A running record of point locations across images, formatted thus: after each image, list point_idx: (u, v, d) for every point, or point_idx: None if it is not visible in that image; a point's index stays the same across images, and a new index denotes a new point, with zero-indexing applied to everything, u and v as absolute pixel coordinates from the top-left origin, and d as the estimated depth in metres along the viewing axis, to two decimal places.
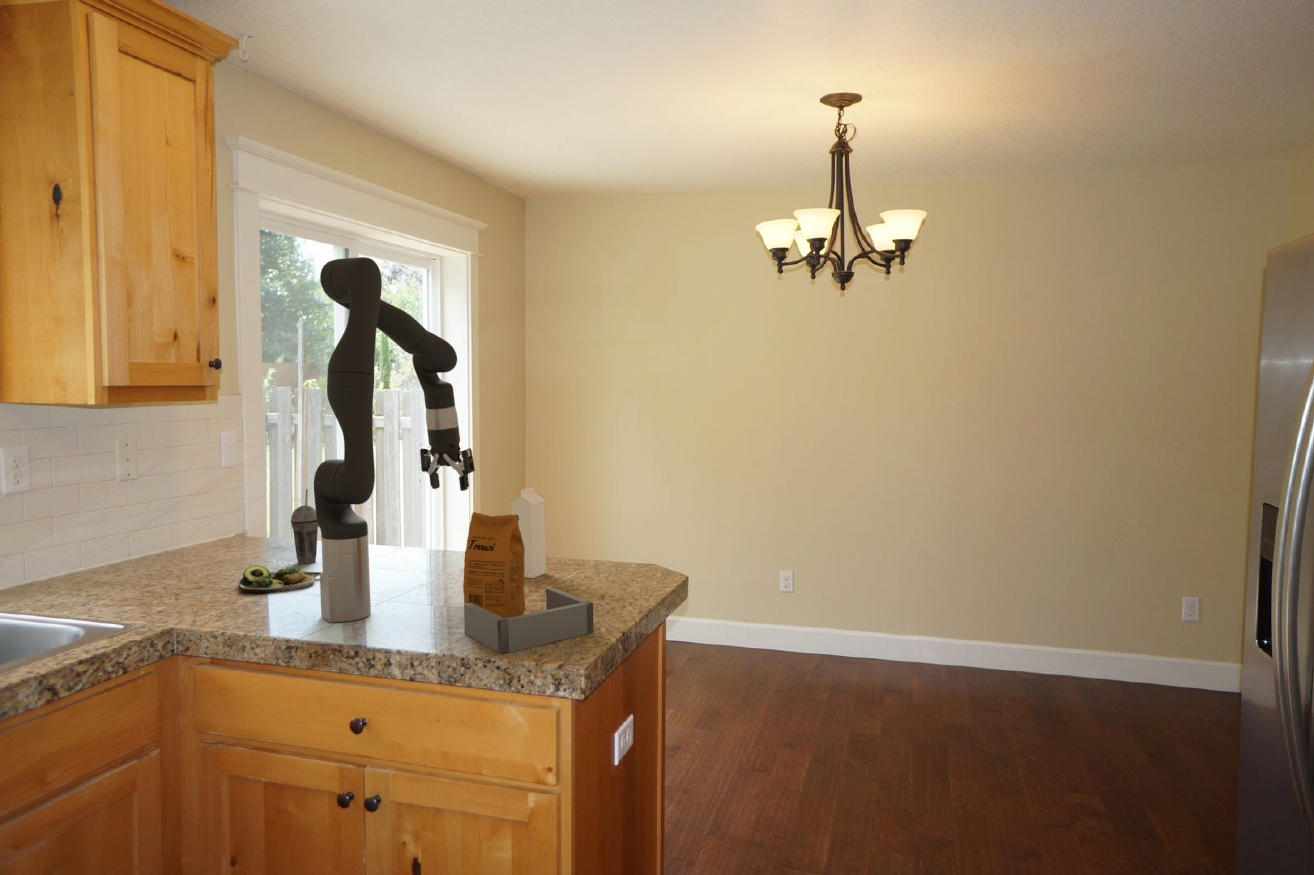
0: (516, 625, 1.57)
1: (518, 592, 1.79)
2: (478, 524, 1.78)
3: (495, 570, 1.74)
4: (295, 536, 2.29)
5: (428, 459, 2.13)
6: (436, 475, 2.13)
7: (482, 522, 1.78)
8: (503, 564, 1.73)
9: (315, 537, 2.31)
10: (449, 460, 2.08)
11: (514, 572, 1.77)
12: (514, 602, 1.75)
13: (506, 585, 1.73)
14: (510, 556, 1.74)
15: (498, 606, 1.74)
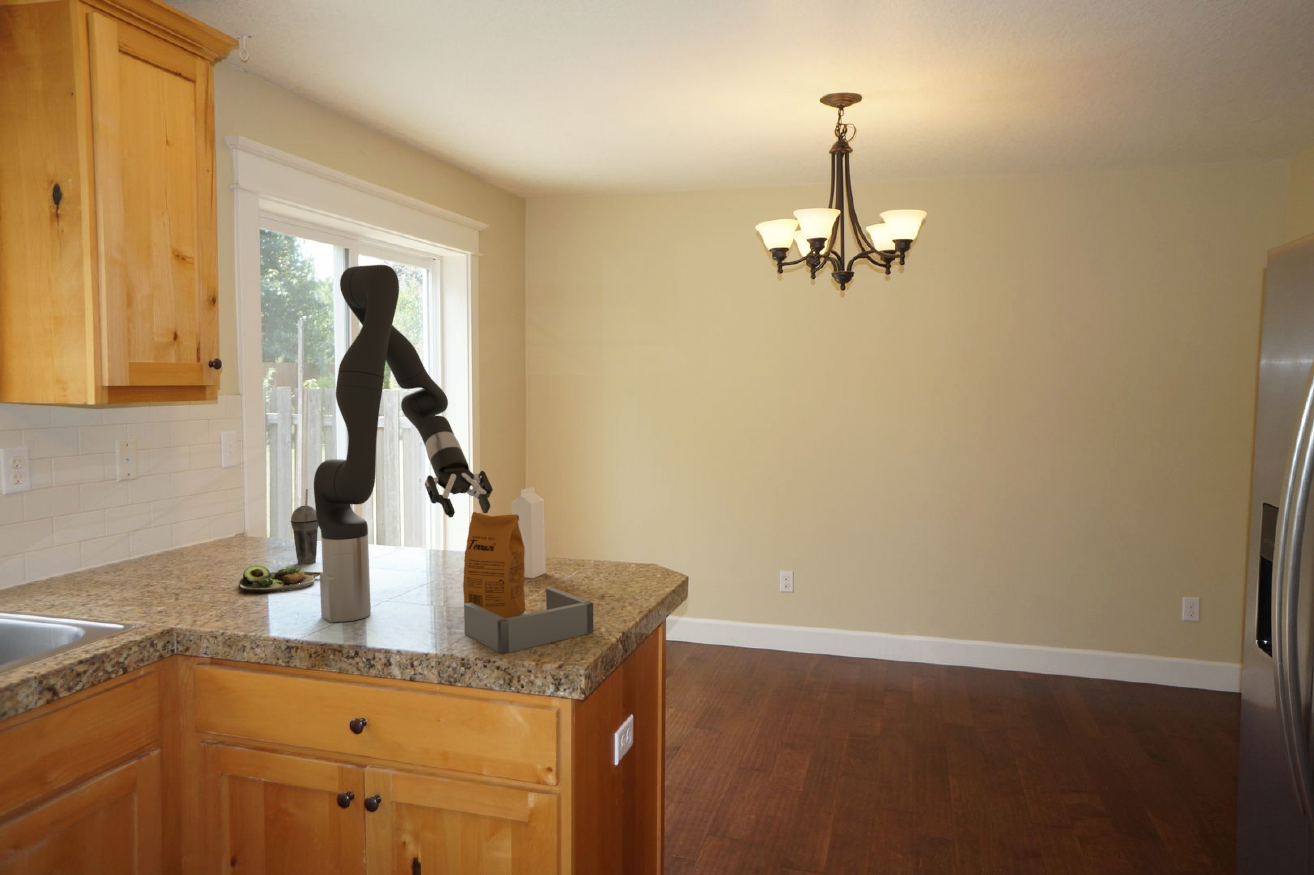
0: (516, 625, 1.57)
1: (518, 592, 1.79)
2: (478, 524, 1.78)
3: (495, 570, 1.74)
4: (295, 536, 2.29)
5: None
6: None
7: (482, 522, 1.78)
8: (503, 564, 1.73)
9: (315, 537, 2.31)
10: (469, 479, 1.90)
11: (514, 572, 1.77)
12: (514, 602, 1.75)
13: (506, 585, 1.73)
14: (510, 556, 1.74)
15: (498, 606, 1.74)
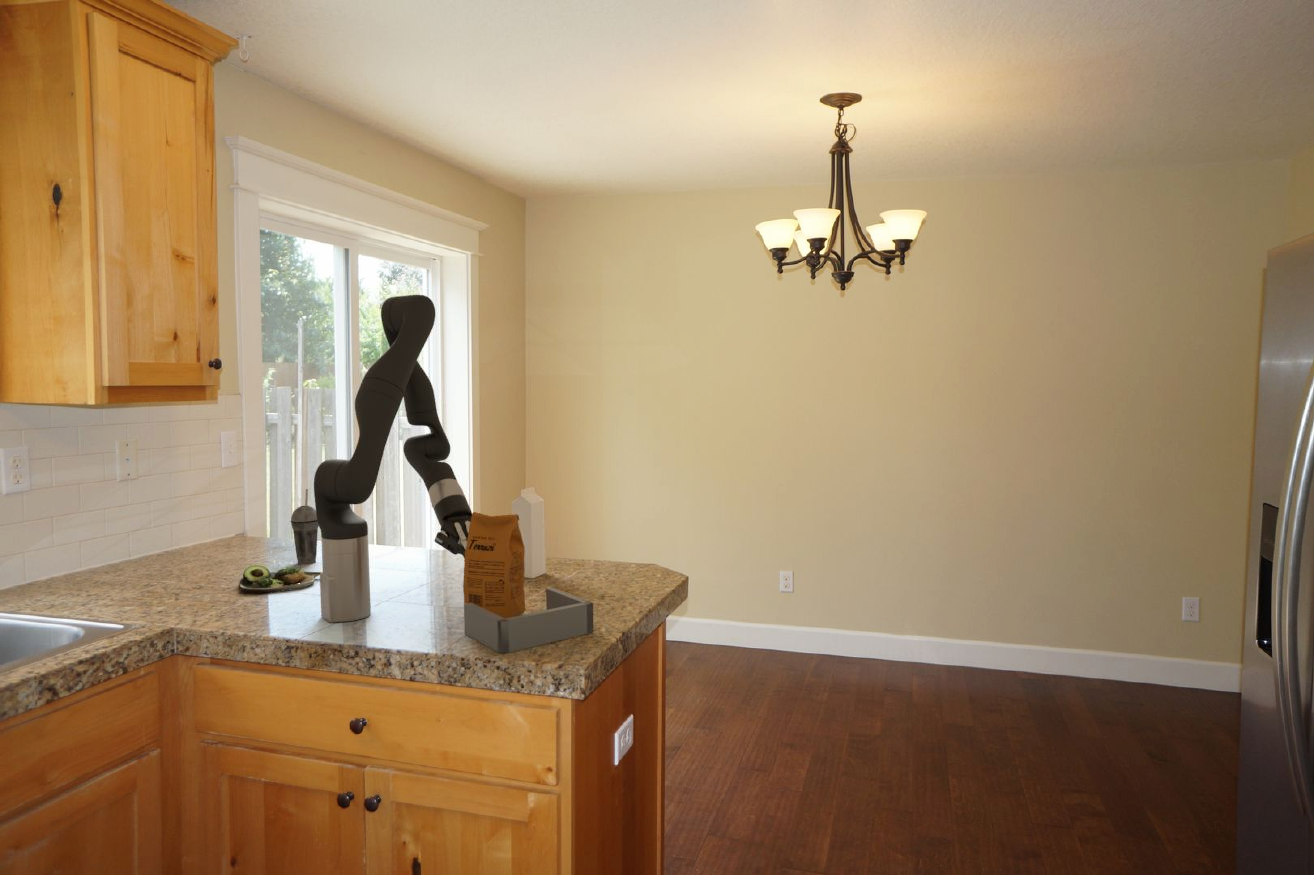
0: (516, 625, 1.57)
1: (518, 592, 1.79)
2: (478, 524, 1.78)
3: (495, 570, 1.74)
4: (295, 536, 2.29)
5: None
6: None
7: (482, 522, 1.78)
8: (503, 564, 1.73)
9: (315, 537, 2.31)
10: None
11: (514, 572, 1.77)
12: (514, 602, 1.75)
13: (506, 585, 1.73)
14: (510, 556, 1.74)
15: (498, 606, 1.74)
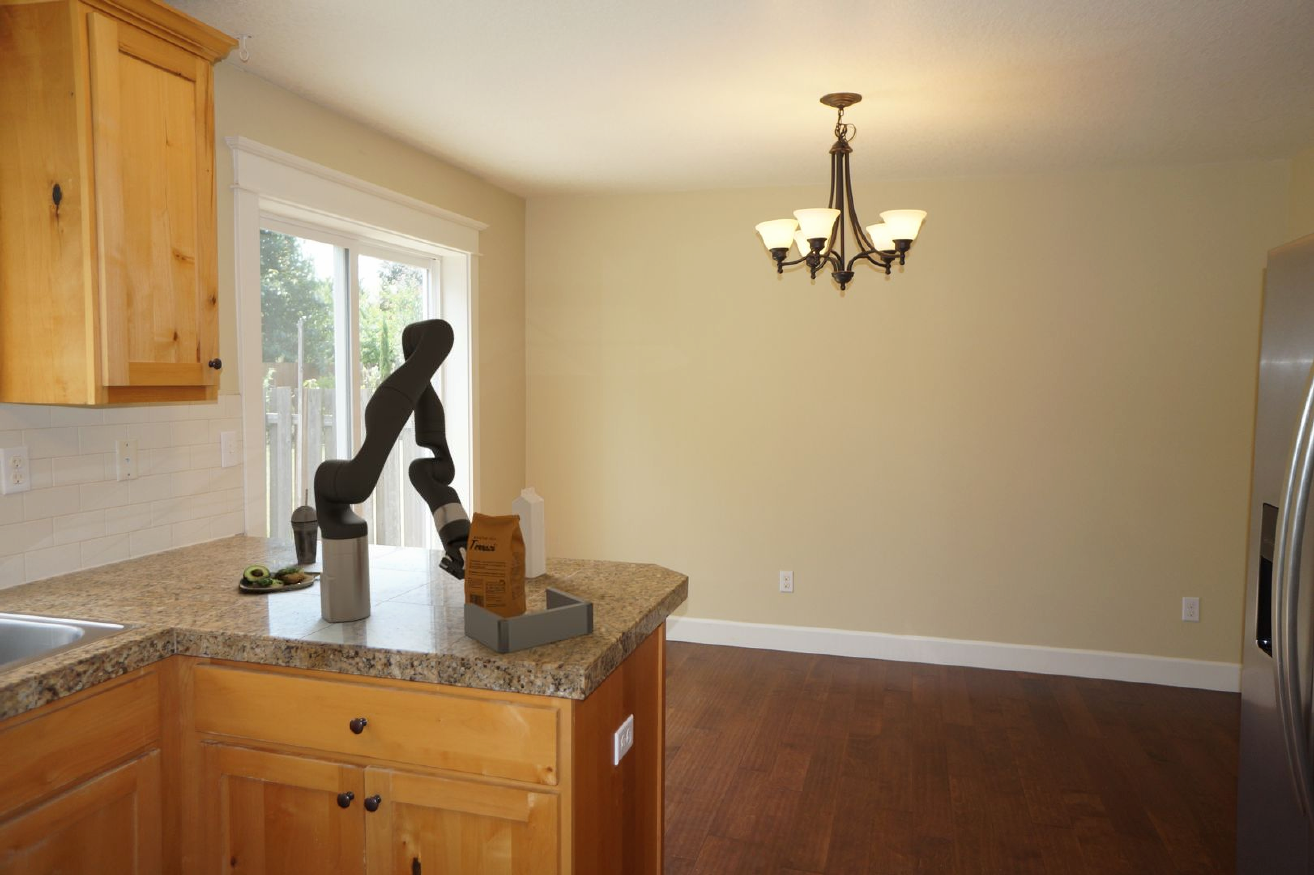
0: (516, 625, 1.57)
1: (519, 592, 1.78)
2: (479, 524, 1.78)
3: (496, 570, 1.73)
4: (295, 536, 2.29)
5: None
6: None
7: (483, 522, 1.78)
8: (504, 565, 1.73)
9: (315, 537, 2.31)
10: None
11: (515, 572, 1.76)
12: (514, 602, 1.75)
13: (507, 585, 1.73)
14: (511, 556, 1.74)
15: (499, 606, 1.74)
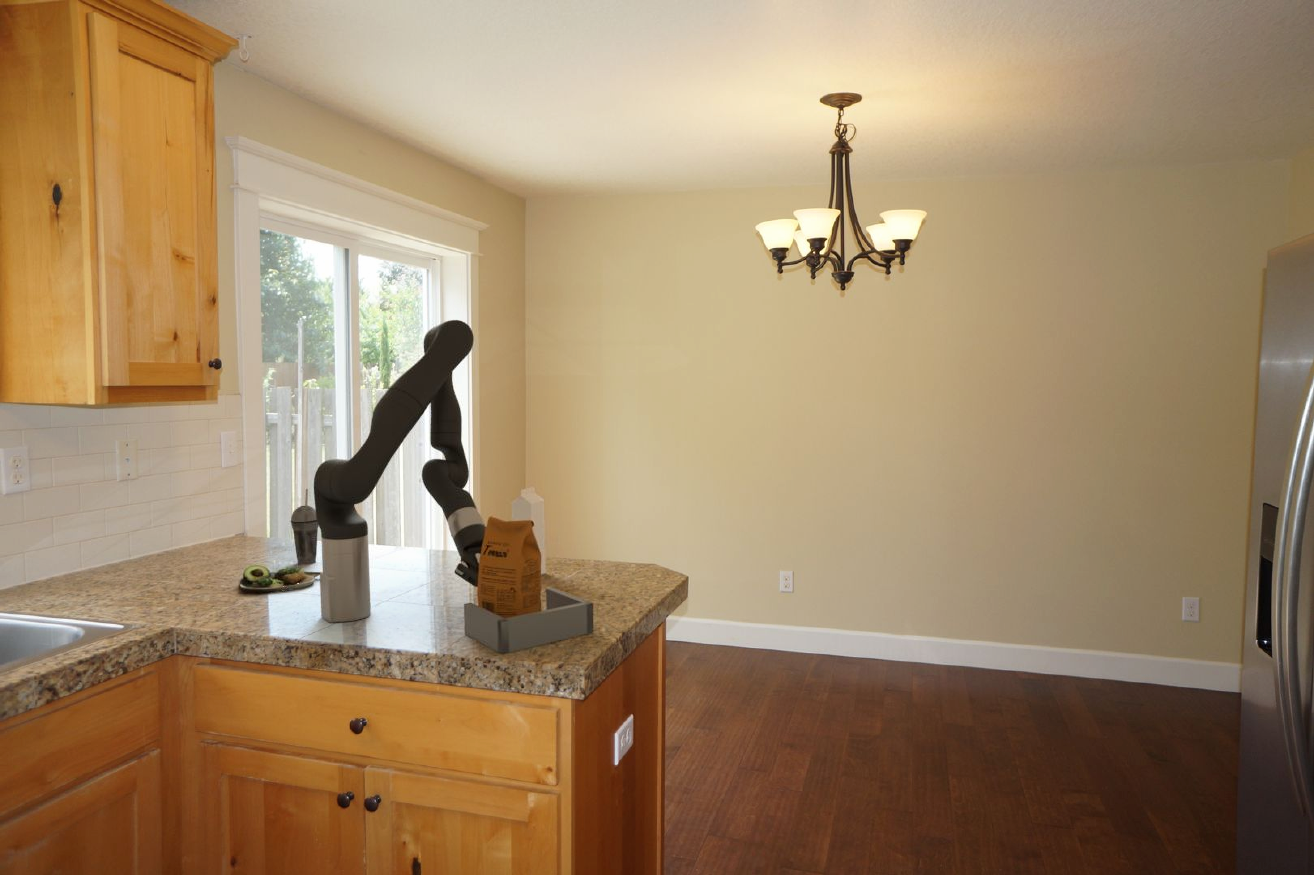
0: (516, 625, 1.57)
1: (533, 601, 1.71)
2: (493, 529, 1.72)
3: (507, 577, 1.67)
4: (295, 536, 2.29)
5: None
6: None
7: (498, 527, 1.72)
8: (515, 572, 1.66)
9: (315, 537, 2.31)
10: None
11: (528, 580, 1.70)
12: (526, 611, 1.68)
13: (517, 593, 1.66)
14: (522, 564, 1.67)
15: (510, 615, 1.67)
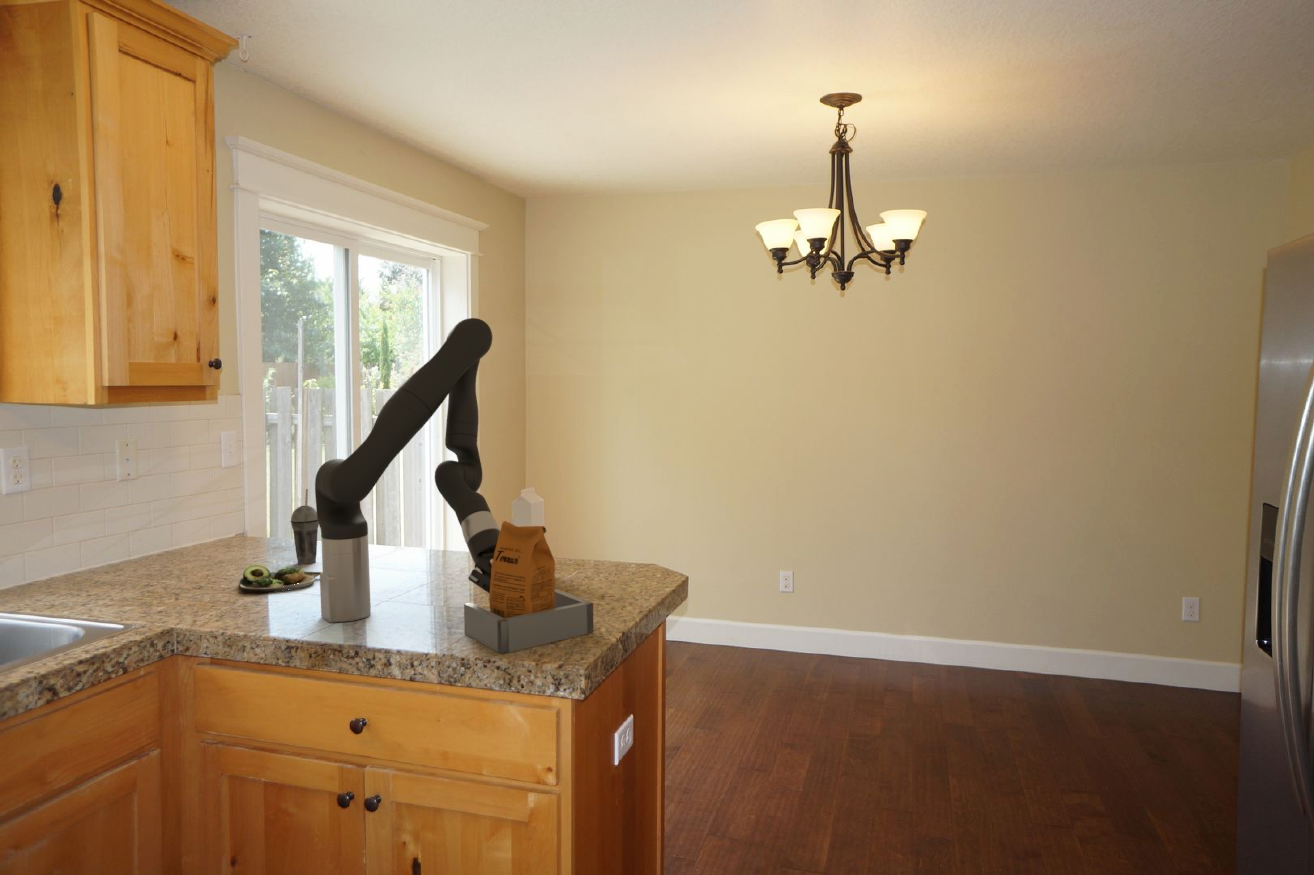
0: (516, 625, 1.57)
1: None
2: (506, 534, 1.67)
3: (516, 585, 1.61)
4: (295, 536, 2.29)
5: None
6: None
7: (511, 532, 1.66)
8: (524, 580, 1.60)
9: (315, 537, 2.31)
10: None
11: (539, 588, 1.63)
12: None
13: (526, 602, 1.60)
14: (532, 571, 1.61)
15: None
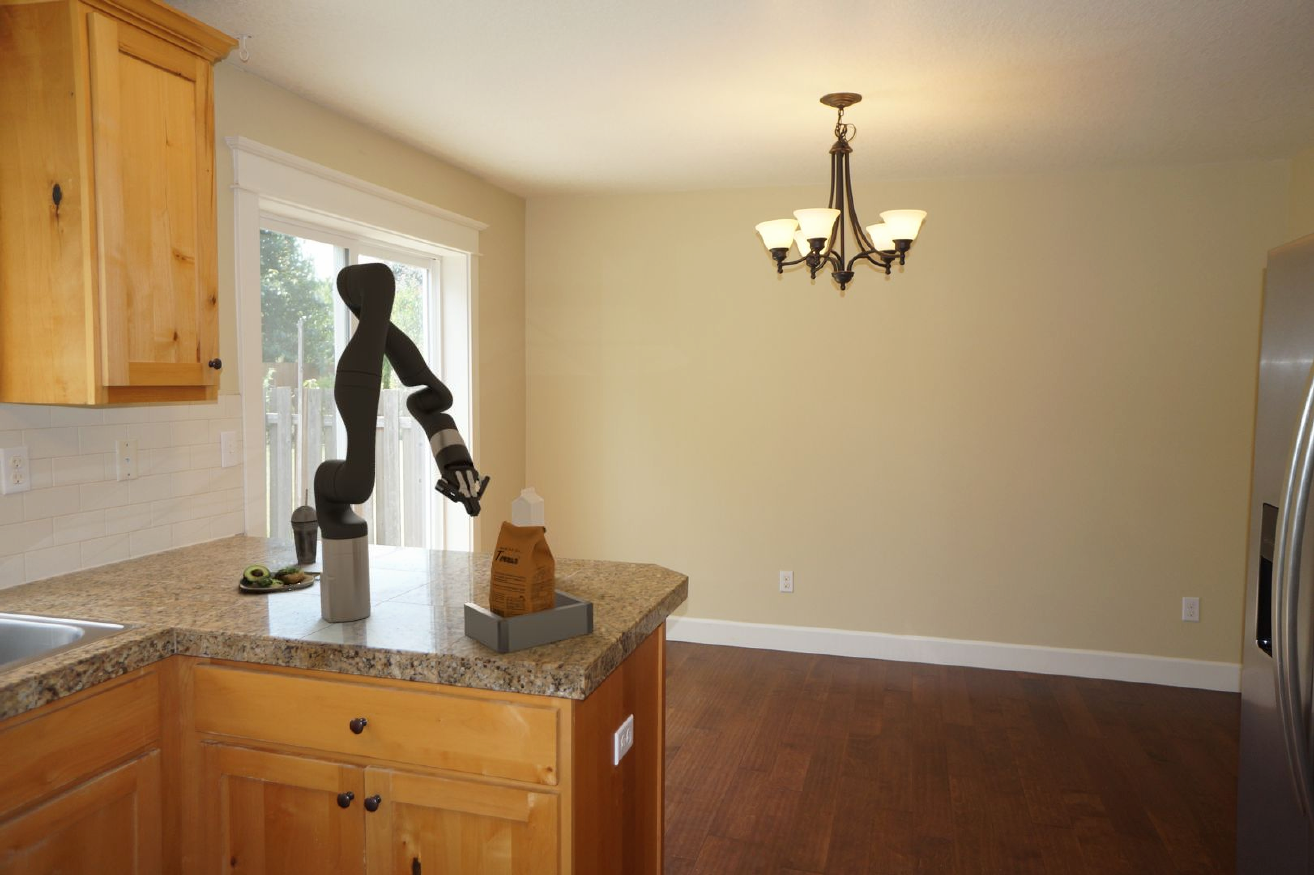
0: (516, 625, 1.57)
1: None
2: (506, 534, 1.67)
3: (516, 585, 1.61)
4: (295, 536, 2.29)
5: None
6: None
7: (510, 532, 1.66)
8: (524, 580, 1.60)
9: (315, 537, 2.31)
10: (470, 478, 1.88)
11: (539, 588, 1.63)
12: None
13: (526, 602, 1.60)
14: (532, 571, 1.61)
15: None
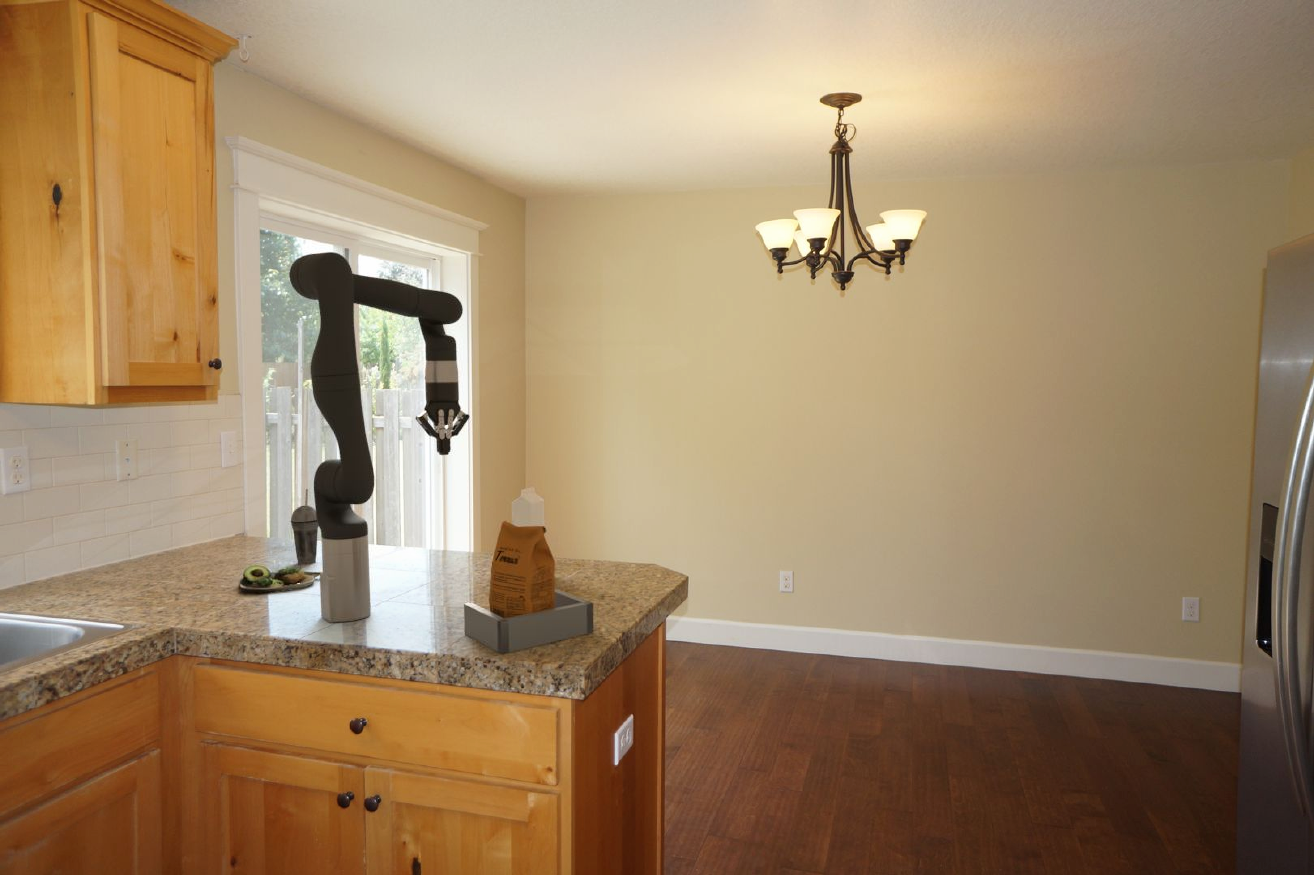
0: (516, 625, 1.57)
1: None
2: (506, 534, 1.67)
3: (516, 585, 1.61)
4: (295, 536, 2.29)
5: None
6: None
7: (510, 532, 1.66)
8: (524, 580, 1.60)
9: (315, 537, 2.31)
10: (450, 417, 1.99)
11: (539, 588, 1.63)
12: None
13: (526, 602, 1.60)
14: (532, 571, 1.61)
15: None
